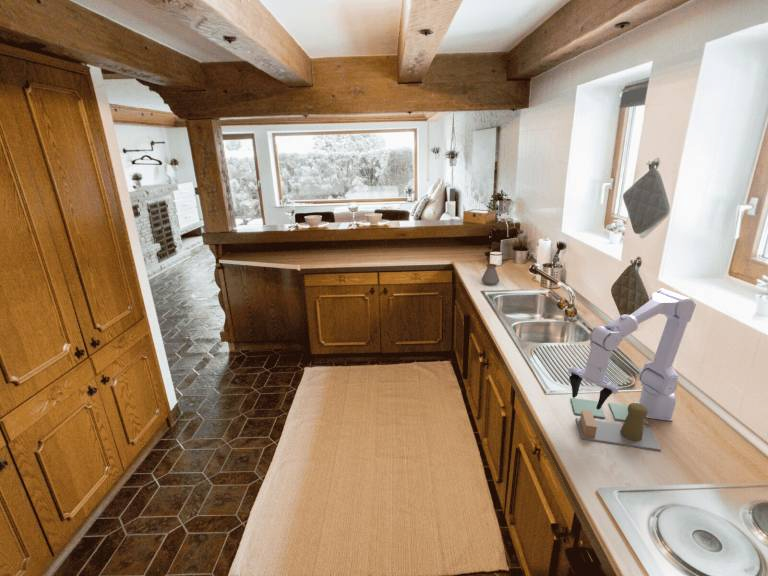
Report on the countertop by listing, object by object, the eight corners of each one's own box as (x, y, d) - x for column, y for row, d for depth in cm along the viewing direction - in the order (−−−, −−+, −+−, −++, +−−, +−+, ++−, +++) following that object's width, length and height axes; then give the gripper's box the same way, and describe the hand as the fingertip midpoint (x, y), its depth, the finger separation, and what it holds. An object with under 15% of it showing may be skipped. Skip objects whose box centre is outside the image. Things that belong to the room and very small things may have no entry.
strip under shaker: (649, 429, 130) (652, 417, 129) (660, 451, 121) (663, 438, 120) (576, 419, 136) (577, 407, 134) (581, 439, 127) (583, 427, 125)
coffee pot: (500, 286, 260) (502, 264, 255) (482, 286, 260) (484, 264, 255) (493, 276, 280) (495, 255, 275) (477, 276, 280) (478, 255, 275)
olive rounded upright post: (634, 427, 130) (642, 399, 126) (646, 440, 125) (654, 412, 121) (616, 428, 130) (623, 400, 126) (627, 441, 125) (634, 412, 121)
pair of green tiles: (638, 407, 141) (639, 406, 141) (647, 424, 133) (647, 422, 133) (570, 399, 146) (570, 397, 146) (574, 414, 138) (575, 413, 138)
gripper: (568, 358, 126) (558, 395, 131) (617, 378, 116) (604, 418, 120) (578, 352, 131) (568, 388, 135) (625, 371, 121) (614, 410, 125)
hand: (586, 402), depth 128 cm, fingers open, 7 cm apart
